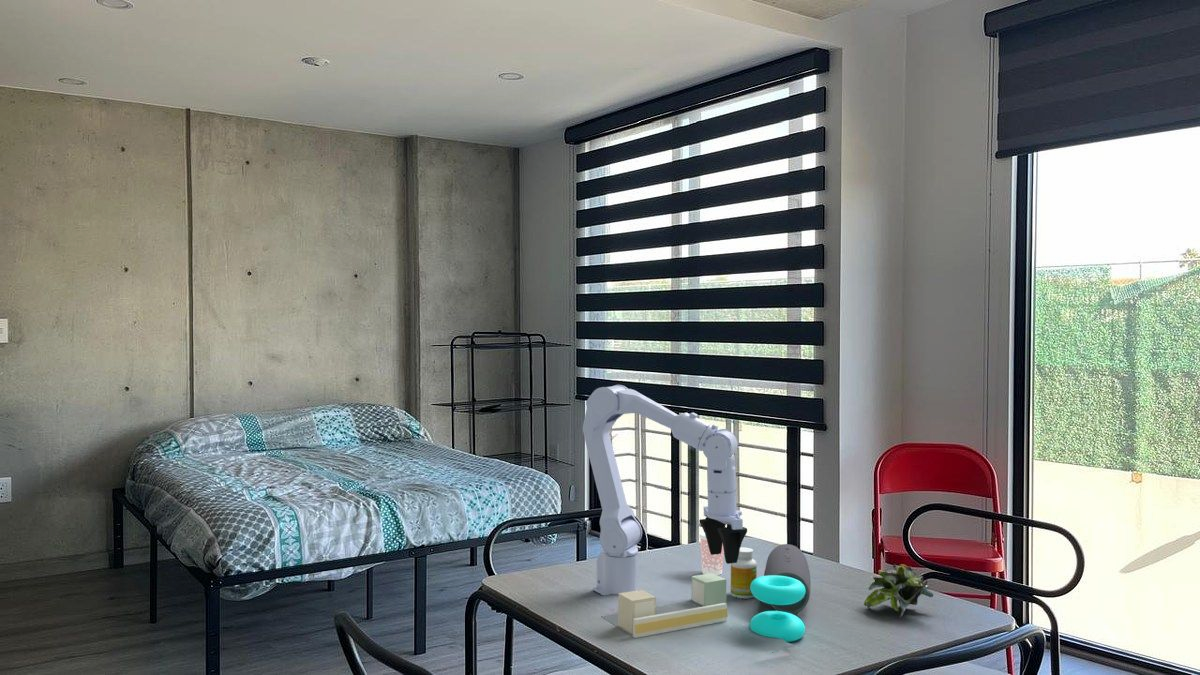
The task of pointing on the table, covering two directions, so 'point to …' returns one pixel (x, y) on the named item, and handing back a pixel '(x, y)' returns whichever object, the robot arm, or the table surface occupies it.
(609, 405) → the robot arm
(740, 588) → the supplement bottle
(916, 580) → the green leafy plant
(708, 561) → the beverage cup
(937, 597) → the table surface
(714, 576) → the sage carton
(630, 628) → the beige block
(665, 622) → the shelf board
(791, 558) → the bluetooth speaker
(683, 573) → the table surface
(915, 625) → the table surface
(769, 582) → the donuts
